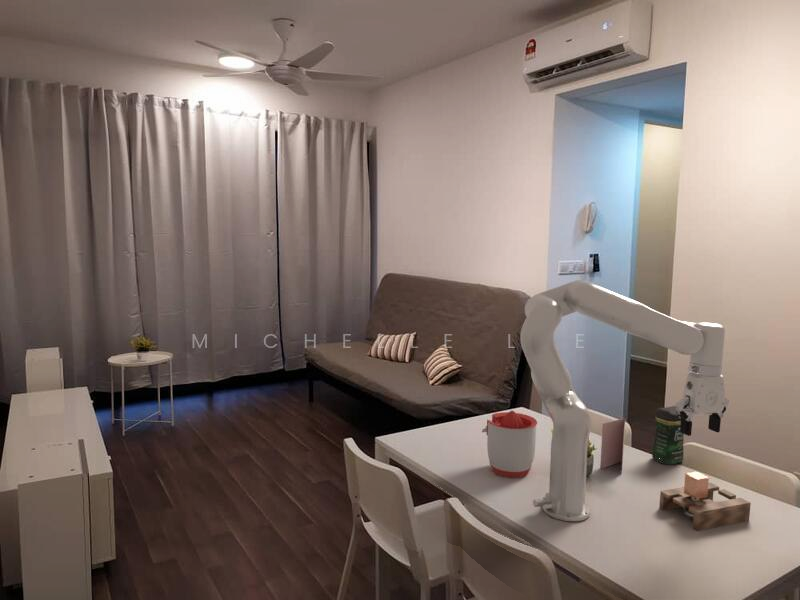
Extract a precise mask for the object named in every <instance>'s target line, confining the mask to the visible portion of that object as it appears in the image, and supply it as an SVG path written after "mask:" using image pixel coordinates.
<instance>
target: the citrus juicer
mask: <svg viewBox="0 0 800 600" xmlns="http://www.w3.org/2000/svg"><path fill="white" fill-rule="evenodd" d="M537 424H538V421H537V419H536V418H534V417H532V416H530V415H527V414H524V413H518V412H515V411H514V410H510V411H507V412H505V411H504V412H496V413H492V416H491V420H490V419H486V425H485V428H483V429H482V430H481V433H486V436H487V441H486V443H487V444H486V445H487V446H486V447H487V450H486V451H487V455H488V456H487V457H488V462H489V465H490V468H491V470H492V471H493V473H495V474H496V475H498V476H502V477H505V478H517V479H519V478H522V477H525V476H528V474H529V472H530V470H531V469H532V467H533V466H532V465H533V462H534V458H535V453H536V442H537V441H536V439H537V437H536V436H537Z"/></svg>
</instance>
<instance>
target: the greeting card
mask: <svg viewBox="0 0 800 600" xmlns="http://www.w3.org/2000/svg"><path fill="white" fill-rule="evenodd" d="M625 429H626V417H625V418H619V419H616V420H613V421H609V422H604V423H602V429H601V430H602V431H601V446H600V447H601V449H600V464H599V468H600V469H603V468H606V467H610V466H612V465H616V464H618V463H619V464H620V463H621V466H623V464H624V448H625V447H624V444H625V432H626V431H625ZM622 473H623V472H621V475H622Z"/></svg>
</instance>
